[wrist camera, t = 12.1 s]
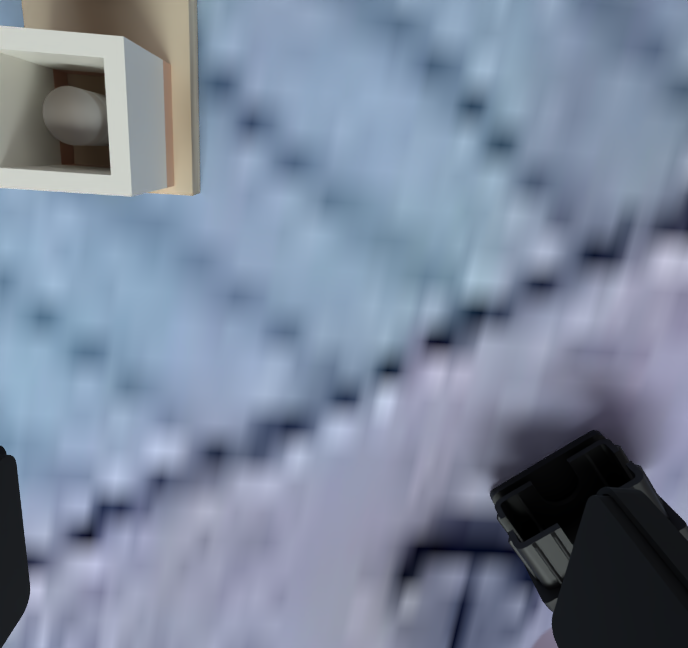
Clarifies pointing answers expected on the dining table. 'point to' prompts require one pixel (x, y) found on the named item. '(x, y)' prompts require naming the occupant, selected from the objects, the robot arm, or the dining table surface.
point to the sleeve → (122, 113)
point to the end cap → (565, 505)
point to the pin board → (89, 91)
